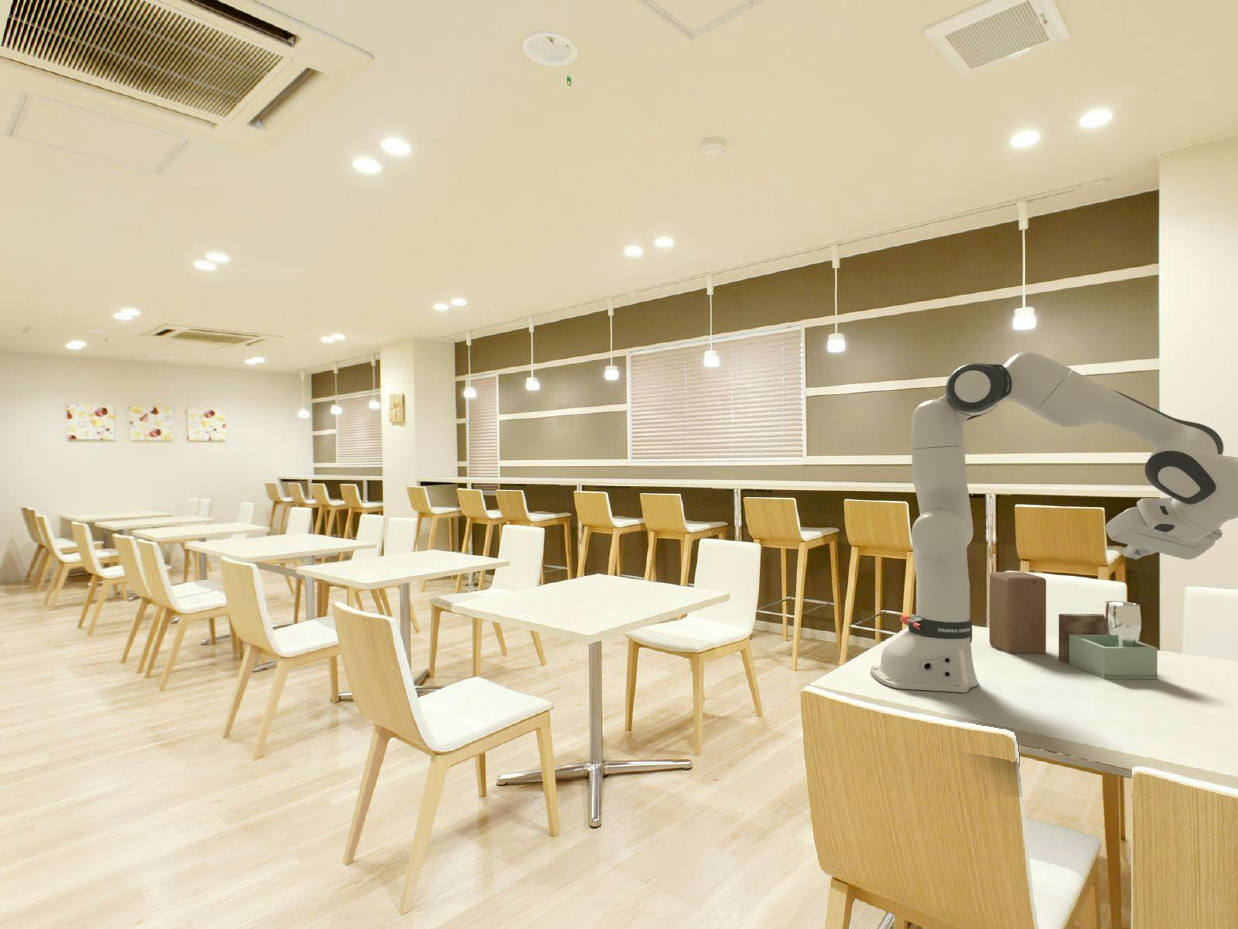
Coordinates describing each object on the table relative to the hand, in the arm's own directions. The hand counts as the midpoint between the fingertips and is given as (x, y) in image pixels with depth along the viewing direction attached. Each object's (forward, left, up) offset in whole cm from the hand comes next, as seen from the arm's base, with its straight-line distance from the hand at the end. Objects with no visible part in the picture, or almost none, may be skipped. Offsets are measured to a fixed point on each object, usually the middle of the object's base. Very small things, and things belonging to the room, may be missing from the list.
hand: (1128, 555), depth 146 cm
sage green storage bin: (+5, +12, -29) cm, 32 cm away
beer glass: (+7, +12, -28) cm, 31 cm away
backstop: (+5, +11, -29) cm, 32 cm away
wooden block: (-6, +31, -30) cm, 44 cm away
